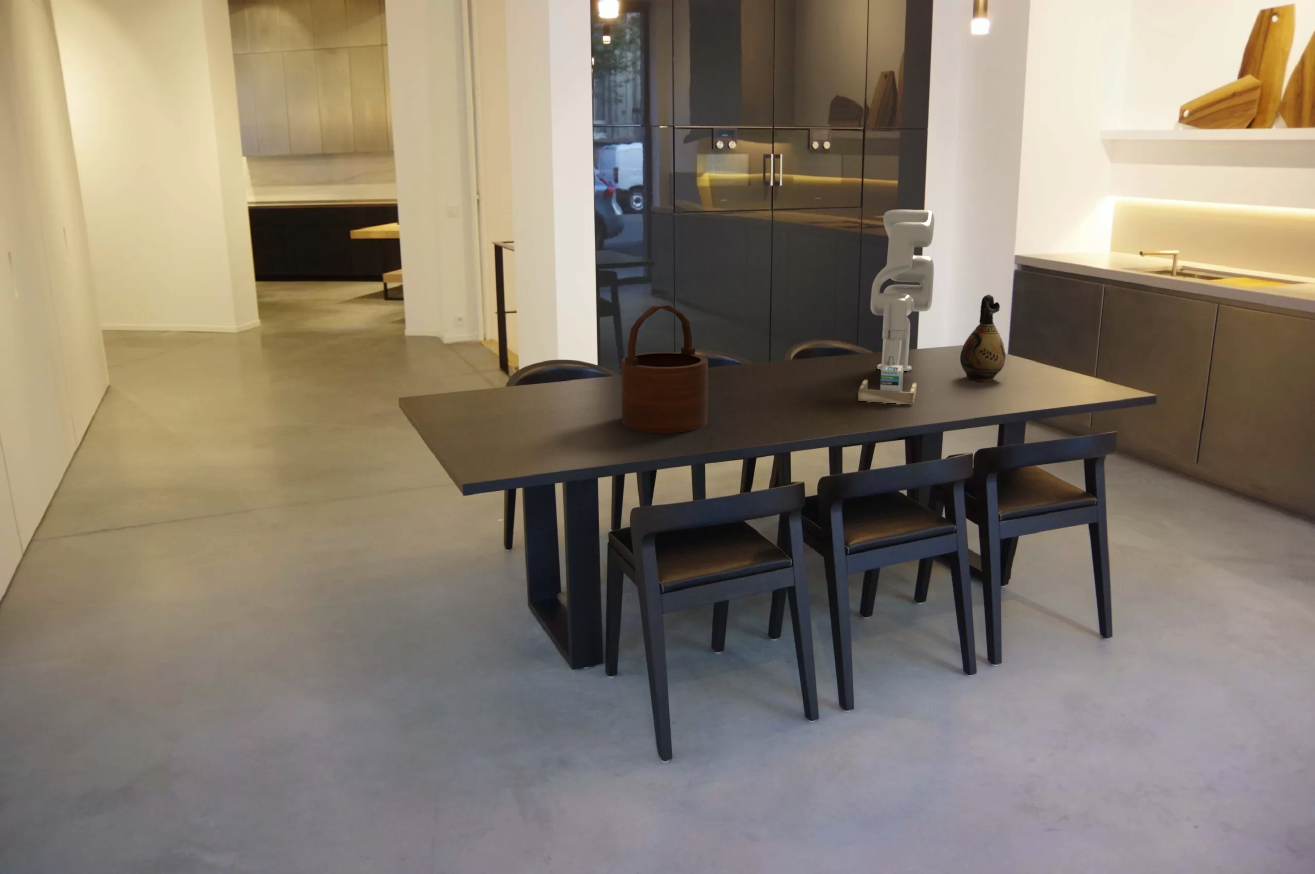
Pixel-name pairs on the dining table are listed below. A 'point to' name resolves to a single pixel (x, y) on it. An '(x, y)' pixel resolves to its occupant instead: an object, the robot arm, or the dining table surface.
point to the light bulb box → (891, 377)
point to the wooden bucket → (664, 385)
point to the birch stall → (886, 395)
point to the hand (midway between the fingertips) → (890, 387)
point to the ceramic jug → (984, 346)
